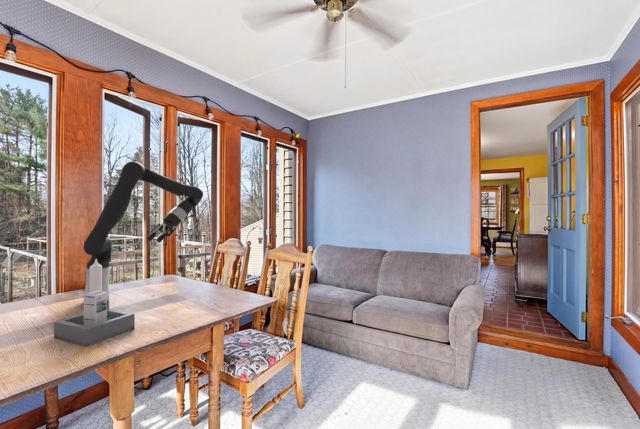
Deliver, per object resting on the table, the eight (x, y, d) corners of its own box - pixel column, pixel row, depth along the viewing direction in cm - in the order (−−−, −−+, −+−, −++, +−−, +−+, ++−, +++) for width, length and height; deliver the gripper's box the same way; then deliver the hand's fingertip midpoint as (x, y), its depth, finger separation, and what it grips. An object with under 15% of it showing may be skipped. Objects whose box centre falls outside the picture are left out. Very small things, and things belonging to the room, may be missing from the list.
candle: (108, 313, 139) (109, 258, 138) (92, 318, 132) (93, 260, 132) (97, 311, 141) (98, 257, 141) (81, 315, 134) (82, 259, 134)
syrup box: (95, 333, 114) (96, 295, 113) (82, 332, 115) (83, 293, 115) (109, 328, 119) (109, 291, 119) (97, 326, 120) (97, 290, 120)
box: (53, 337, 112) (54, 321, 112) (104, 321, 128) (104, 307, 128) (85, 346, 105) (86, 329, 105) (134, 328, 122) (134, 313, 122)
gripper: (162, 211, 160) (139, 234, 151) (178, 212, 152) (155, 236, 143) (172, 221, 165) (150, 244, 155) (188, 222, 157) (166, 247, 147)
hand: (152, 240), depth 149 cm, fingers open, 8 cm apart
